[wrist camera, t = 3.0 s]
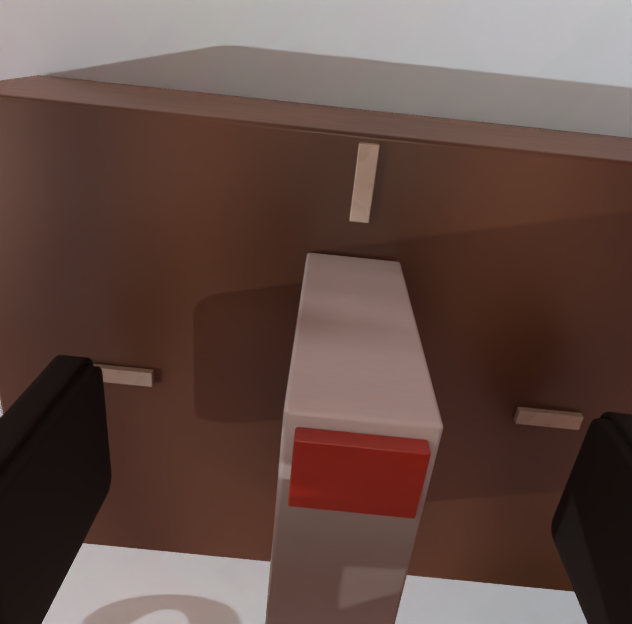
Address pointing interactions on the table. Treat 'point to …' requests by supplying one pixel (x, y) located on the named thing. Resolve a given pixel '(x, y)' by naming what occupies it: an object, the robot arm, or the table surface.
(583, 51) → the table surface
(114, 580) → the table surface
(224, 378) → the tap base
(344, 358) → the tap handle
